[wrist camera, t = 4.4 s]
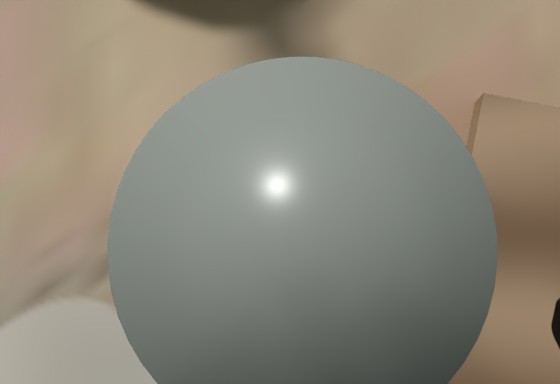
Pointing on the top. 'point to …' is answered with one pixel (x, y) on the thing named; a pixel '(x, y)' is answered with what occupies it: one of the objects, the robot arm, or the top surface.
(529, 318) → the walnut plate
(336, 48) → the top surface
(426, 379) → the sage canister
